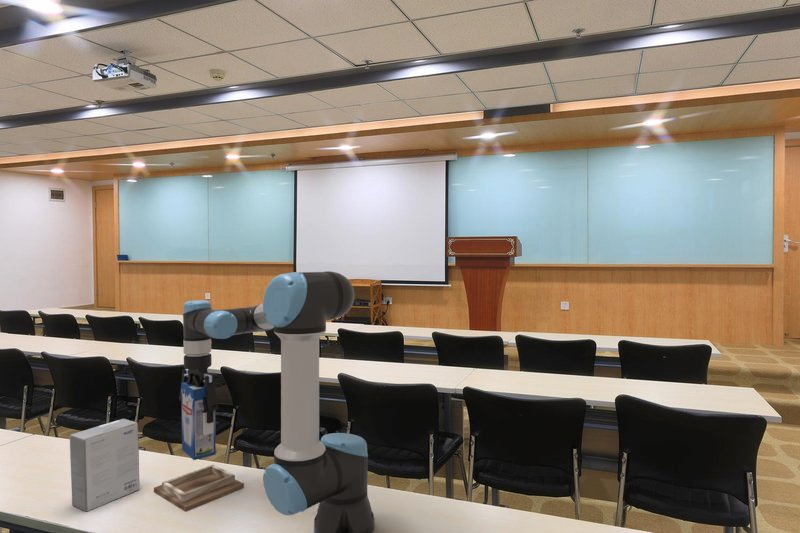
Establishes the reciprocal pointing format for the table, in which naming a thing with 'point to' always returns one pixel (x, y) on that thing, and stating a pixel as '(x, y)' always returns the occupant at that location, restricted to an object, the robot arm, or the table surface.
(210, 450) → the milk carton
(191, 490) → the walnut board
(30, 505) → the table surface
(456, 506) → the table surface
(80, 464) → the hard drive box
